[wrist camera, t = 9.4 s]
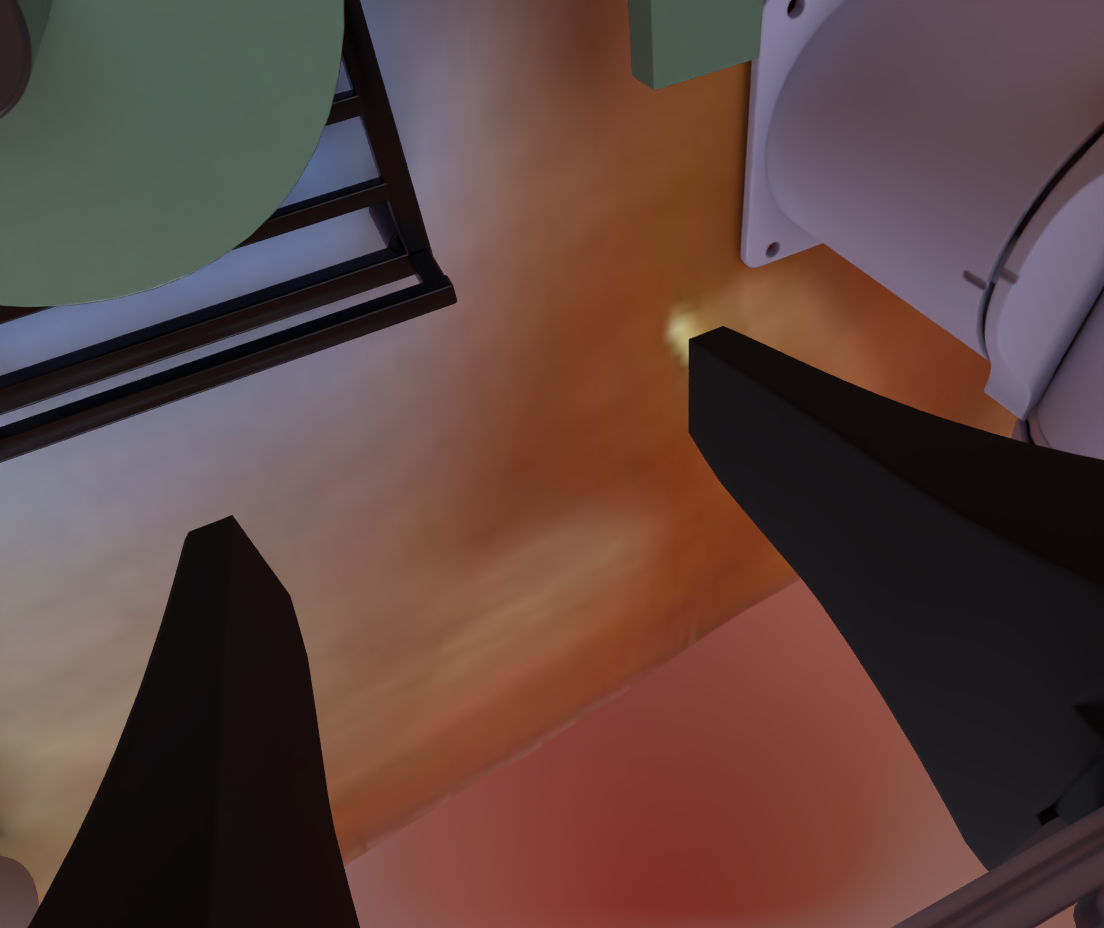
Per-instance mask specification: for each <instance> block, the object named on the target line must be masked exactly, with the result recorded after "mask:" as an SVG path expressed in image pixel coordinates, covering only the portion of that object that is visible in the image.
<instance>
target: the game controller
mask: <svg viewBox="0 0 1104 928" xmlns="http://www.w3.org/2000/svg"><path fill="white" fill-rule="evenodd" d="M38 908H39V902H38V894H37V890H36V886H35V884H34V881H33V878H32V877H31V875H30V873H29V872H28V870H27V869H26V868H25V867H24V866H23V865H22V864H21V863H19V862H18V861H16V860H14V859H11V858H8V857H4V856H0V928H28V926H29V924H30V922H31V921H32V919H33V917H34V915H35V913H36V912H37V910H38Z"/></svg>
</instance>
